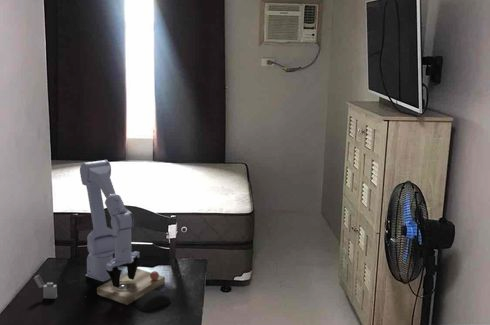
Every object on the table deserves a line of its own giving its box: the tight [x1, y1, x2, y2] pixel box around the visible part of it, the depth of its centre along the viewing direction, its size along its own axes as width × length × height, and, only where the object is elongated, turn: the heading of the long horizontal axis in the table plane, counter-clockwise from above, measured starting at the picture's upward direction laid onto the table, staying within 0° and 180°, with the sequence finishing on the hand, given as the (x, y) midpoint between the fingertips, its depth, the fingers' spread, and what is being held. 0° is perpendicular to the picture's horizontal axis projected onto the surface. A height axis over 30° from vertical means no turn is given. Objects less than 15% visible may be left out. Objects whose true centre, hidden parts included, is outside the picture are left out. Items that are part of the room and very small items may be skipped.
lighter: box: [33, 274, 58, 300], centre depth 180 cm, size 7×2×8 cm, turn 90°
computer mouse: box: [135, 289, 171, 312], centre depth 178 cm, size 6×11×4 cm, turn 131°
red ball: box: [150, 270, 160, 280], centre depth 190 cm, size 3×3×3 cm
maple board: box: [96, 268, 166, 306], centre depth 189 cm, size 14×20×2 cm
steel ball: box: [118, 285, 127, 290], centre depth 184 cm, size 3×3×3 cm
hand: (123, 282), depth 185 cm, fingers open, 7 cm apart
